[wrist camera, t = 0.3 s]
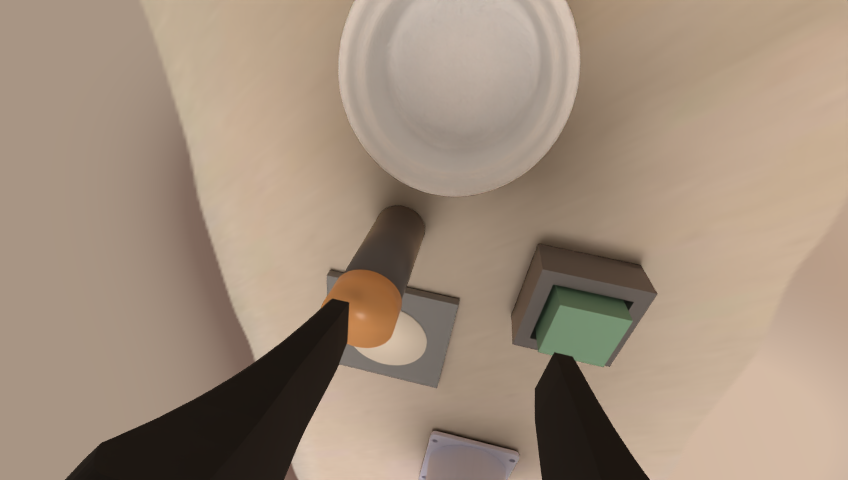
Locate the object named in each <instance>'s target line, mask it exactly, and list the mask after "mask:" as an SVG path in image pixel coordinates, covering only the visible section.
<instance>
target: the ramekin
mask: <svg viewBox="0 0 848 480" xmlns="http://www.w3.org/2000/svg"><path fill="white" fill-rule="evenodd" d="M338 77H339V88H340V94H341V99H342V103H343V106H344V109H345V112H346V115H347V118H348V120H349V123H350V125H351V127H352V129H353V131H354V133H355V135H356V136H357V138H358V140H359V142H360V143H361V145H362V146H363V147H364V149H365V150H366V151H367V153H368V154H369V155H370V156H371V157H372V158H373V159H374V161H375V162H376V163H377V164H378V165H379V166H380V167H381V168H382V169H383V170H385V171H386V172H387V173H388V174H390V175H391V176H393V177H394V178H395V179H397V180H398V181H400V182H402V183H404V184H405V185H408V186H409V187H411V188H414V189H417V190H419V191H422V192H425V193H429V194H433V195H439V196H448V197H461V196H472V195H477V194H482V193H485V192H489V191H492V190H495V189H497V188H500V187H502V186H505V185H506V184H508V183H510V182H512V181H514V180H515V179H517V178H519V177H520V176H522V175H523V174H525V173H526V172H528V171H529V170H530V169H531V168H532V167H533V166H534V165H536V164H537V163H538V162H539V161H540V160H541V159H542V158H543V157H544V155H545V154H546V153H547V152H548V151H549V150H550V148H551V147H552V146H553V144H554V143H555V142H556V140H557V139H558V138H559V136H560V133H561V132H562V130H563V129H564V127H565V125H566V123H567V121H568V119H569V116H570V113H571V110H572V108H573V105H574V102H575V98H576V94H577V89H578V85H579V77H580V47H579V39H578V31H577V28H576V24H575V21H574V17H573V14H572V12H571V10H570V7H569V5H568V3H567V1H566V0H354V2H353V4H352V6H351V8H350V12H349V14H348V17H347V19H346V22H345V25H344V29H343V32H342V36H341V41H340V49H339V59H338Z"/></svg>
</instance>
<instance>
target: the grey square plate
mask: <svg viewBox="0 0 848 480" xmlns="http://www.w3.org/2000/svg"><path fill="white" fill-rule="evenodd" d="M343 274H344V273H341V272H337V271H332V270H330V271H329V273H328V274H327V296H328V294H329V292H330V291H331V289H332V288H333V286H334V284H335V283H336V281H337V280H338V278H339V277H340V276H341V275H343ZM458 305H459V299H457V298H452V297H448V296H443V295H439V294H434V293H430V292H425V291H421V290H417V289H412V288H408V287H406V289H405V292H404V295H403V298H402V307H401V311H400V314H399V317H398V320H397V323H396V326H395V329H394V332H393V334H392V337H391V338H390V339H389V340H388V341H387V342H386V343H385V344H383V345H381V346H378V347H374V348H360V347H355V346H351V345H349V344H346V347H345V350H344V352H343V355H342V358H341V360H340V363H339V364H340V365H344V366H348V367H352V368H357V369H361V370H365V371H369V372H373V373H377V374H381V375H385V376H389V377H393V378H397V379H401V380H405V381H410V382H414V383H418V384H422V385H426V386H430V387H434V388H437V387H438V383H439V379H440V375H441V371H442V367H443V363H444V359H445V355H446V352H447V348H448V344H449V340H450V336H451V332H452V328H453V324H454V321H455V317H456V313H457V309H458Z"/></svg>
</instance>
